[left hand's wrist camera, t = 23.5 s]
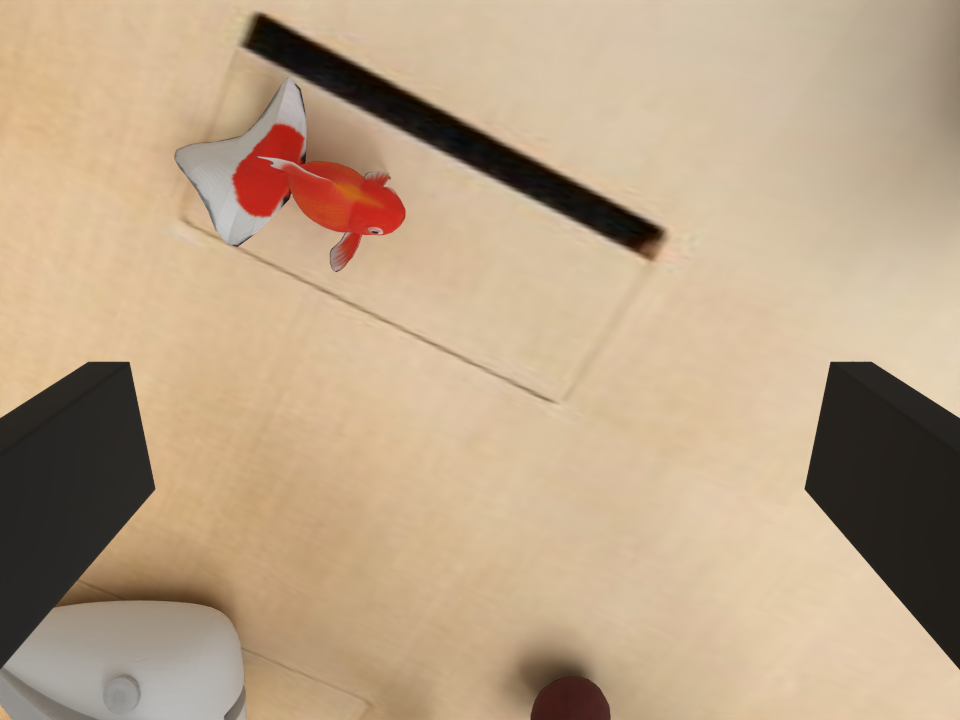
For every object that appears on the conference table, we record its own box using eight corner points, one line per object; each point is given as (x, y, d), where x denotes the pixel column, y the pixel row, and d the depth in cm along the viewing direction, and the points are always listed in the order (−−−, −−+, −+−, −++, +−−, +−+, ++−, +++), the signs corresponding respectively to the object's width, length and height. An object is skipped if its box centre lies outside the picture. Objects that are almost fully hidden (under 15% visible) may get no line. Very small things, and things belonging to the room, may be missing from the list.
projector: (117, 505, 56) (0, 632, 42) (319, 654, 62) (273, 808, 48) (-20, 645, 61) (-163, 797, 48) (177, 769, 67) (100, 937, 54)
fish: (350, 337, 46) (287, 299, 36) (200, 217, 49) (105, 153, 40) (445, 217, 46) (407, 147, 36) (288, 106, 50) (216, 17, 40)
